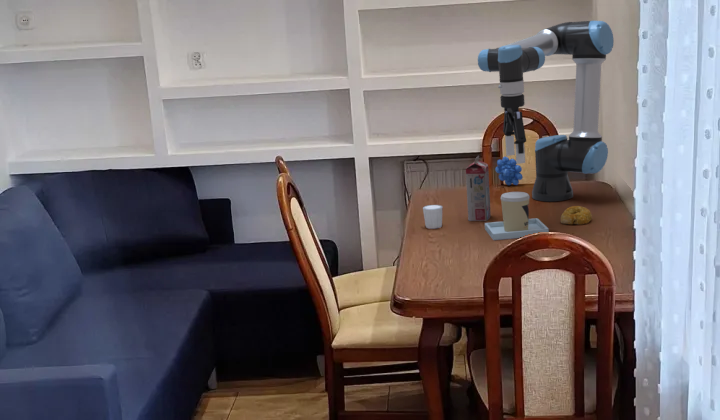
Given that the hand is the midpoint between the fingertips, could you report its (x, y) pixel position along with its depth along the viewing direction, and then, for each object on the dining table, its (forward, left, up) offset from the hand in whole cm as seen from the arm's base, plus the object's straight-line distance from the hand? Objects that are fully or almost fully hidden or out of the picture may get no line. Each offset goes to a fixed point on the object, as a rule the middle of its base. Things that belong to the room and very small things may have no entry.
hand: (515, 159), depth 277 cm
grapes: (-11, -64, -24) cm, 69 cm away
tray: (+2, +4, -24) cm, 24 cm away
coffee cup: (+1, +4, -23) cm, 24 cm away
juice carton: (+10, -18, -24) cm, 31 cm away
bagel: (-20, -2, -24) cm, 31 cm away
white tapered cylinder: (+27, -13, -24) cm, 38 cm away
